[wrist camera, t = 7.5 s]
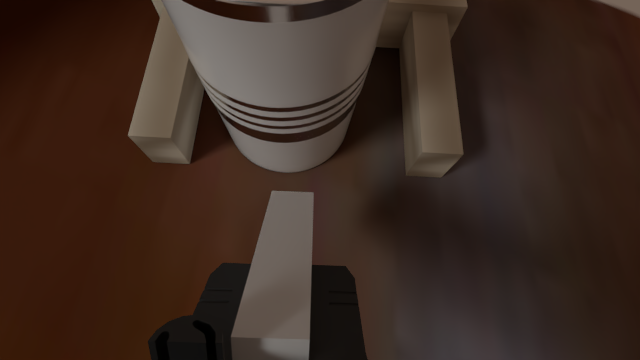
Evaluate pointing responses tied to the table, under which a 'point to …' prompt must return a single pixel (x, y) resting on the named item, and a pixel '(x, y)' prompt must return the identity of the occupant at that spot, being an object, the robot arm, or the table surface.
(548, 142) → the table surface
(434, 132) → the cream wooden u-shaped piece
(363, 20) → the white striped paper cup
